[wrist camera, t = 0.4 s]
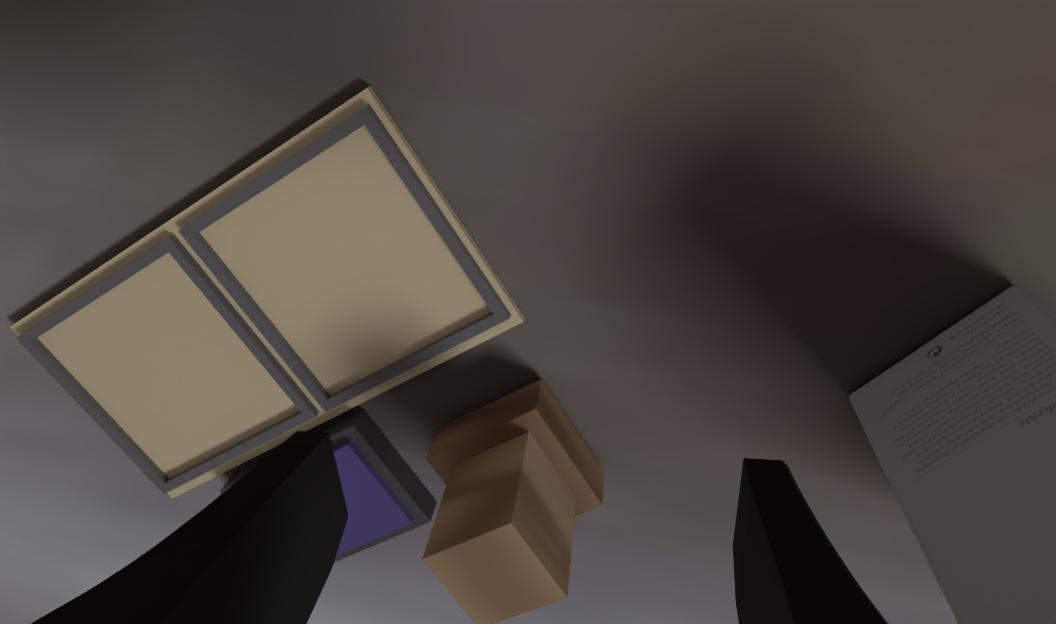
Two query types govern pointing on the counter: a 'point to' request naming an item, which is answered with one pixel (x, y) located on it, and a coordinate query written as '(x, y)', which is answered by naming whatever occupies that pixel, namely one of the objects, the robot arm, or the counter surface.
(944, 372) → the small box
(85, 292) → the beige divided tray
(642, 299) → the counter surface
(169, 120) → the counter surface
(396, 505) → the ink pad
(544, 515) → the stamp
